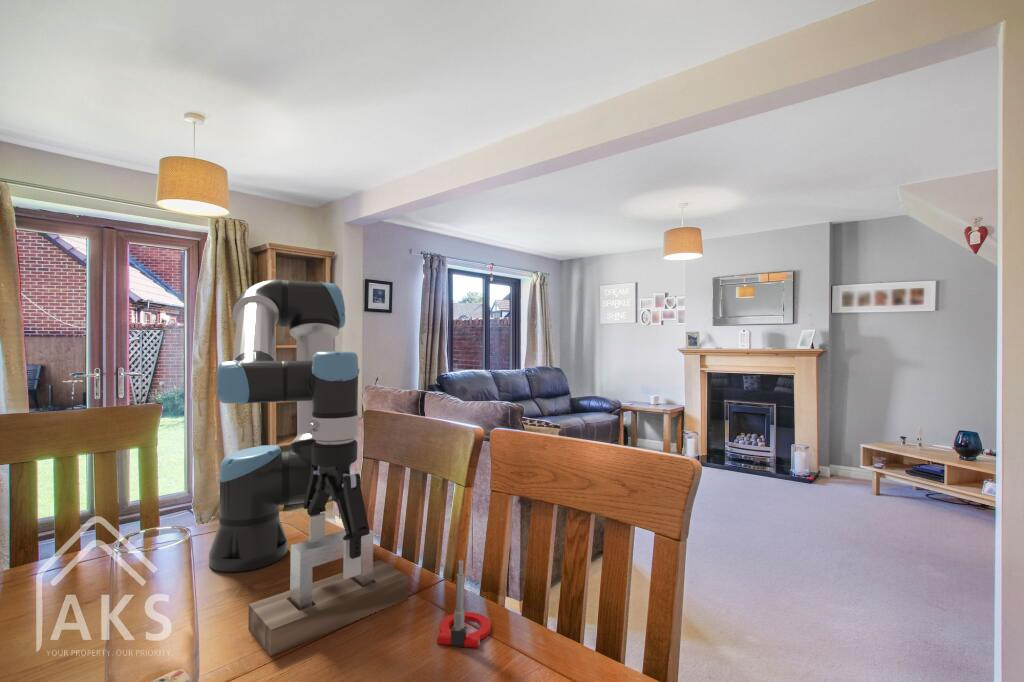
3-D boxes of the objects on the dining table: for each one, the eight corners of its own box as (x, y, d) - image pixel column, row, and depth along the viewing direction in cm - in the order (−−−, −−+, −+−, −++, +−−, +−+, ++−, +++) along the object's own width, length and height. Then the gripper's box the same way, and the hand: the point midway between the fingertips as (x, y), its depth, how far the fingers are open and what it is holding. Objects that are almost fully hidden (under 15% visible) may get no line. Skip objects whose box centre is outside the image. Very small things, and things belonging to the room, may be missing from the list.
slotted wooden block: (248, 628, 81) (248, 604, 81) (380, 580, 98) (380, 559, 98) (270, 656, 73) (270, 629, 73) (408, 598, 90) (408, 577, 90)
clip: (289, 623, 82) (290, 545, 82) (361, 595, 92) (362, 525, 92) (299, 633, 79) (300, 552, 80) (372, 603, 89) (373, 531, 89)
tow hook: (447, 616, 86) (430, 645, 77) (449, 540, 86) (433, 560, 77) (495, 621, 84) (483, 651, 75) (496, 544, 85) (486, 565, 76)
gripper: (285, 432, 92) (283, 547, 92) (348, 455, 74) (346, 596, 74) (324, 428, 97) (323, 536, 97) (392, 448, 80) (390, 580, 79)
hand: (333, 562), depth 86 cm, fingers open, 13 cm apart
